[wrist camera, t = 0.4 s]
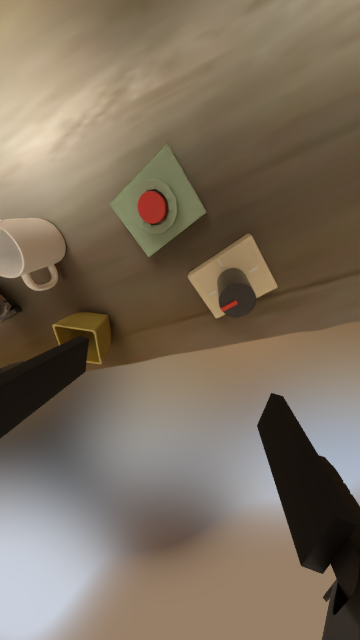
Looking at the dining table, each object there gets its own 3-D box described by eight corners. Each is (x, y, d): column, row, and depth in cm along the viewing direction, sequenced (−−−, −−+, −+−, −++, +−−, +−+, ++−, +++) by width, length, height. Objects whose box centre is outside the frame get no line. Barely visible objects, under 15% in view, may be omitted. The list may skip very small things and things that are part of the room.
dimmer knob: (238, 261, 31) (246, 277, 24) (251, 286, 33) (263, 307, 26) (211, 278, 33) (211, 296, 26) (226, 300, 35) (229, 323, 28)
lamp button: (156, 185, 27) (152, 183, 25) (172, 211, 28) (170, 211, 27) (136, 204, 29) (131, 204, 27) (152, 228, 30) (149, 229, 28)
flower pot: (119, 340, 47) (101, 365, 40) (86, 335, 48) (62, 358, 40) (116, 308, 43) (95, 330, 35) (79, 303, 43) (51, 323, 36)
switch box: (170, 147, 27) (164, 138, 24) (206, 212, 31) (206, 212, 27) (115, 204, 32) (103, 204, 29) (152, 255, 36) (145, 259, 32)
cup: (52, 212, 34) (-2, 213, 26) (83, 276, 40) (48, 294, 31) (17, 224, 36) (-44, 228, 28) (52, 283, 42) (10, 302, 33)
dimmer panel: (248, 232, 32) (251, 235, 29) (273, 281, 35) (278, 287, 32) (188, 272, 36) (187, 277, 34) (216, 312, 40) (216, 319, 37)
